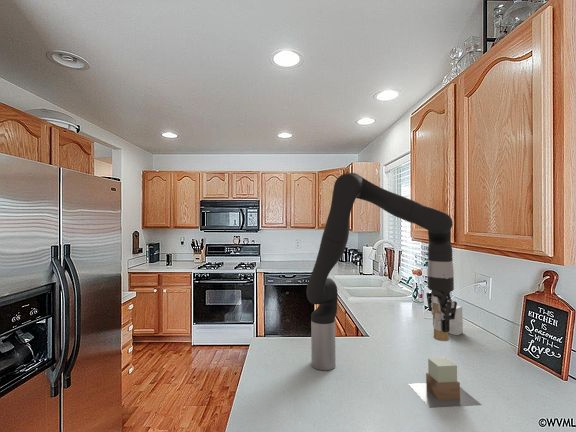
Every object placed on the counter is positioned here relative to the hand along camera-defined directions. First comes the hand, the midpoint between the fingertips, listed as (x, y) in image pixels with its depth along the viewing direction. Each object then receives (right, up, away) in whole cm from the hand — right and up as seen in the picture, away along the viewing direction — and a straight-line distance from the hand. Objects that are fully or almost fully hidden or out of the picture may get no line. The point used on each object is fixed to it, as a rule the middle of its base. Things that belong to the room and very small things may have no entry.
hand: (441, 328), depth 103 cm
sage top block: (0, -15, 0) cm, 15 cm away
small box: (+33, -22, +59) cm, 72 cm away
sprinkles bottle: (0, -3, 0) cm, 3 cm away
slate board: (0, -21, 0) cm, 21 cm away
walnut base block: (0, -20, 0) cm, 20 cm away
